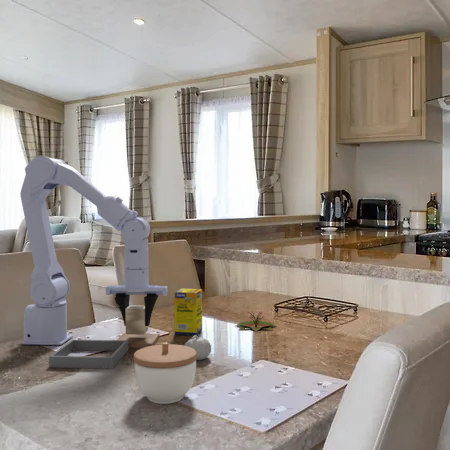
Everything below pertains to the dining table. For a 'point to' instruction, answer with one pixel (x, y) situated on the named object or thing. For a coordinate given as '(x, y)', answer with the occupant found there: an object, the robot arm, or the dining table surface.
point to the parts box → (135, 320)
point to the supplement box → (188, 311)
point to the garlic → (199, 347)
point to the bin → (66, 361)
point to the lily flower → (255, 323)
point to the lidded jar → (165, 371)
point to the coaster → (140, 340)
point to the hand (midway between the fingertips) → (137, 324)
